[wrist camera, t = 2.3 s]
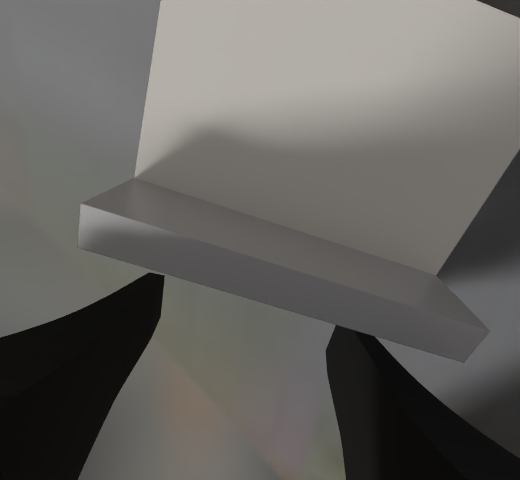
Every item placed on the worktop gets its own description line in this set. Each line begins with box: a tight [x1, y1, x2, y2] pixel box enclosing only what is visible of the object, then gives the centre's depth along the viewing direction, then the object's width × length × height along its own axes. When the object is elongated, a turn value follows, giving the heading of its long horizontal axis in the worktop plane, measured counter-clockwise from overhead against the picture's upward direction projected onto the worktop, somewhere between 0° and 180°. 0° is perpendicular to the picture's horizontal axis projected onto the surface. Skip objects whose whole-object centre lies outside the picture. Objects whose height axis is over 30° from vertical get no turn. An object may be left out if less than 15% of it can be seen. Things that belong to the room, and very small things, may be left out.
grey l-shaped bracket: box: [78, 0, 520, 363], centre depth 8 cm, size 9×7×6 cm
